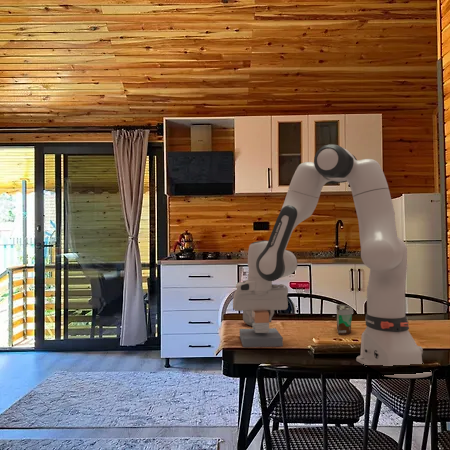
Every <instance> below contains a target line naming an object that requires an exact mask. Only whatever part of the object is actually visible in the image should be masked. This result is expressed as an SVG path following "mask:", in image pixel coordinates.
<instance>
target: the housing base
mask: <svg viewBox="0 0 450 450" xmlns="http://www.w3.org/2000/svg"><path fill="white" fill-rule="evenodd" d="M251 328H252V329H254V331H255V333H269V328H270V322H269V323H255V322H254V323H252V326H251Z"/></svg>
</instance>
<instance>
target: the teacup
mask: <svg viewBox="0 0 450 450" xmlns="http://www.w3.org/2000/svg"><path fill="white" fill-rule="evenodd" d="M249 314H250V316H251V317H252V310H251V313H249ZM242 321H243V322H244V323H245V324H246V325H248V326H250V327H252V323H250V318H249V316H248V314H247V312H246V311H242Z"/></svg>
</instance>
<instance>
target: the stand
mask: <svg viewBox="0 0 450 450" xmlns="http://www.w3.org/2000/svg"><path fill="white" fill-rule="evenodd" d="M239 339H240V343H241V345H242V348H262V347H263V348H265V347H267V348H269V347H272V348H273V347H275V348H276V347H283V346H284V341H283V336H282V335H281V334H280V332H279V331H278V330H277V328H274V327H271V328H270V327H269V333H255V331H254V329H253V328H239Z"/></svg>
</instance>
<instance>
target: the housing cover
mask: <svg viewBox="0 0 450 450" xmlns="http://www.w3.org/2000/svg"><path fill="white" fill-rule="evenodd" d="M269 315H270V311H269V310H252V317H254V322H255V323H269V324H270V322H269Z"/></svg>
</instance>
